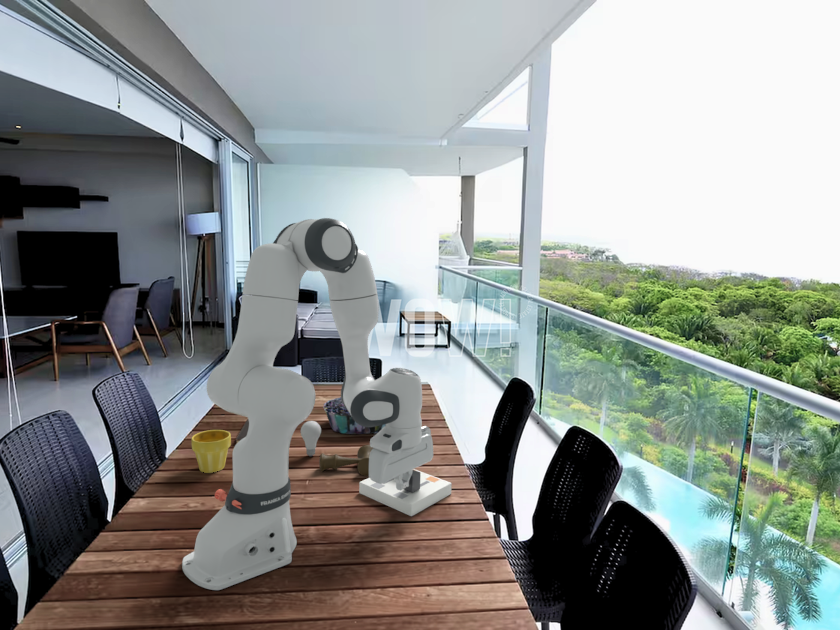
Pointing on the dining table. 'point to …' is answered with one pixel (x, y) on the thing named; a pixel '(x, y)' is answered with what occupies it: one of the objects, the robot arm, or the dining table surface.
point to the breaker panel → (407, 493)
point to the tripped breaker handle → (414, 482)
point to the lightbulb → (310, 436)
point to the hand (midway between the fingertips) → (402, 488)
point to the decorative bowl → (345, 419)
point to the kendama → (348, 461)
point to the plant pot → (211, 449)
